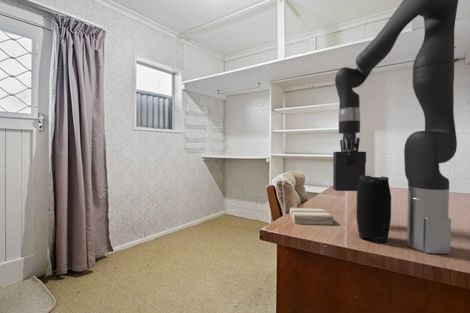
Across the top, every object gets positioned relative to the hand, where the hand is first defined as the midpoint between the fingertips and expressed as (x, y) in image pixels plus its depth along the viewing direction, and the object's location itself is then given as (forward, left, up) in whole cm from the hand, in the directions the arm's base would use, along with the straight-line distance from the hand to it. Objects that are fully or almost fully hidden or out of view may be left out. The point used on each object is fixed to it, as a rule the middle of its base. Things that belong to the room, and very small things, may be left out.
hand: (349, 165), depth 95 cm
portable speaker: (-18, -1, -22) cm, 29 cm away
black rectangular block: (0, 0, -10) cm, 10 cm away
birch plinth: (+3, +14, -22) cm, 26 cm away
